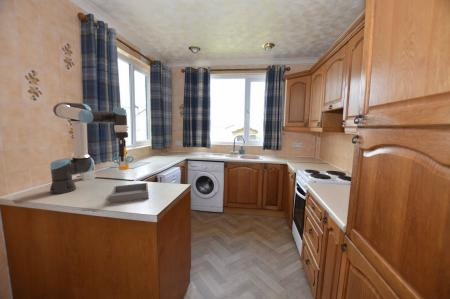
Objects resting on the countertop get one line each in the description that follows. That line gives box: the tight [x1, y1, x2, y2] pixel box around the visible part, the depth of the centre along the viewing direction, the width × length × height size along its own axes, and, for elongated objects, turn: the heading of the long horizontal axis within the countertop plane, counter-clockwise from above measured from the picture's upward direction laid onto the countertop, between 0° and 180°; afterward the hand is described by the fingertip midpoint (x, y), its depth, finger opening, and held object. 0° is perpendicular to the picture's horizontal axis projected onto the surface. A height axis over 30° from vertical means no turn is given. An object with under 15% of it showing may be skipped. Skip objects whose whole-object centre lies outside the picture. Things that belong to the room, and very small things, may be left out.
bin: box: [109, 182, 150, 205], centre depth 138 cm, size 22×22×5 cm
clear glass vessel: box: [79, 159, 96, 181], centre depth 184 cm, size 10×9×17 cm
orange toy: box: [112, 147, 134, 171], centre depth 134 cm, size 12×10×15 cm
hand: (123, 164), depth 135 cm, fingers closed on orange toy, 11 cm apart
